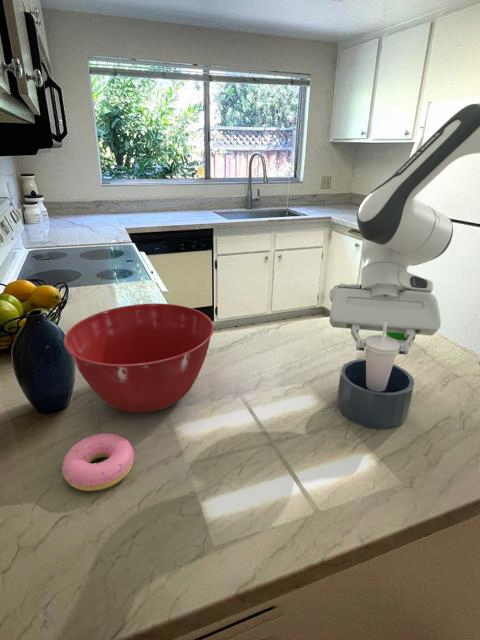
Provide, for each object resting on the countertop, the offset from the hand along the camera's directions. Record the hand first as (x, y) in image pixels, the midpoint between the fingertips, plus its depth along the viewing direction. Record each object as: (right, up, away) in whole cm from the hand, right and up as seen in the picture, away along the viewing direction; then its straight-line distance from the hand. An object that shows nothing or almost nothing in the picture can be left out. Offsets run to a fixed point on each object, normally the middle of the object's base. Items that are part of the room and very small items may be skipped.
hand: (381, 351), depth 76 cm
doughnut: (-49, -18, -11) cm, 54 cm away
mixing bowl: (-46, -10, +9) cm, 48 cm away
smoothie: (0, -7, +4) cm, 8 cm away
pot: (0, -12, +6) cm, 13 cm away
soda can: (+17, 0, +35) cm, 39 cm away
